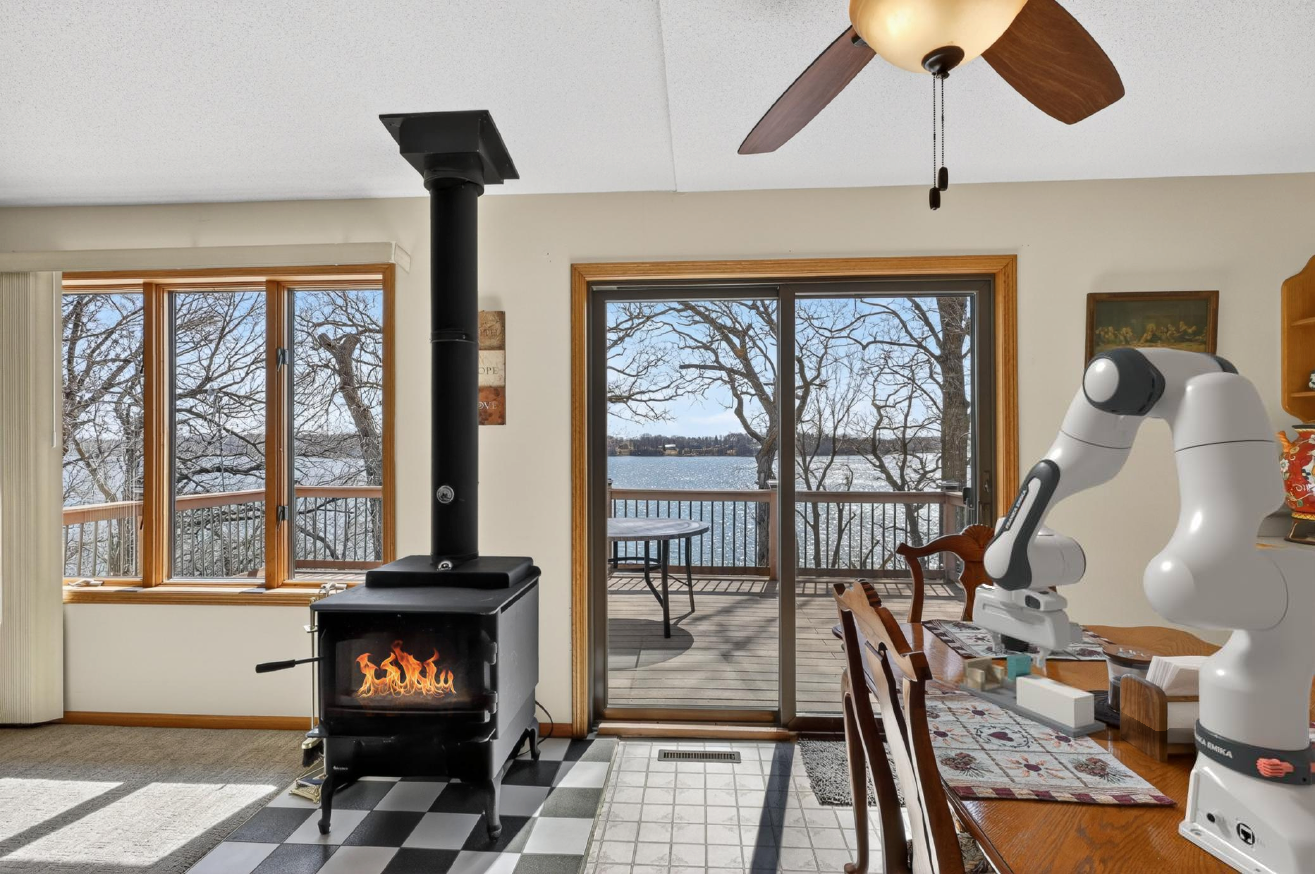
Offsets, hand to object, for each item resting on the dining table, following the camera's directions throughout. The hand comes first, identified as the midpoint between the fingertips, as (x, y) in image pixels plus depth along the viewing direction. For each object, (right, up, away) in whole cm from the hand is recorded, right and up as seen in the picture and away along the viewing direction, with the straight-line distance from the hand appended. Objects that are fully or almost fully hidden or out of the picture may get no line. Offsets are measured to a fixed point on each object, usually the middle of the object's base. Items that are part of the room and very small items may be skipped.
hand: (1018, 659), depth 135 cm
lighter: (+37, -10, +43) cm, 58 cm away
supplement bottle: (+20, -10, +37) cm, 43 cm away
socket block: (-3, -8, +8) cm, 12 cm away
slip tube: (+2, -7, -5) cm, 9 cm away
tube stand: (+1, -9, -2) cm, 9 cm away
